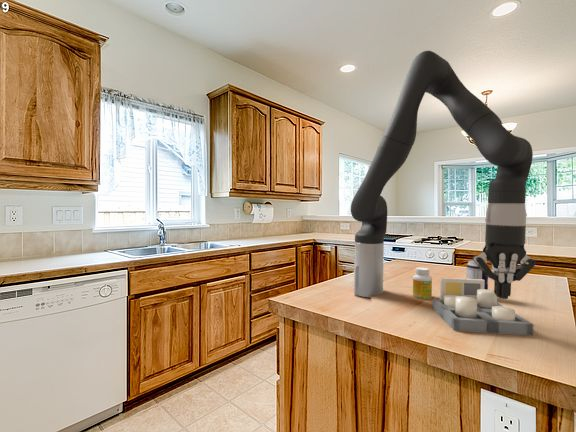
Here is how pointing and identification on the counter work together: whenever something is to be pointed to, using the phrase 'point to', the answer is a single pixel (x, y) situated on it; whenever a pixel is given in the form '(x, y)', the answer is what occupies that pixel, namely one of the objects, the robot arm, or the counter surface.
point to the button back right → (486, 298)
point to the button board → (484, 316)
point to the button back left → (449, 300)
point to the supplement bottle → (422, 284)
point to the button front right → (503, 313)
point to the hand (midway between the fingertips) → (502, 297)
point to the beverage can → (476, 273)
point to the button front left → (466, 307)
